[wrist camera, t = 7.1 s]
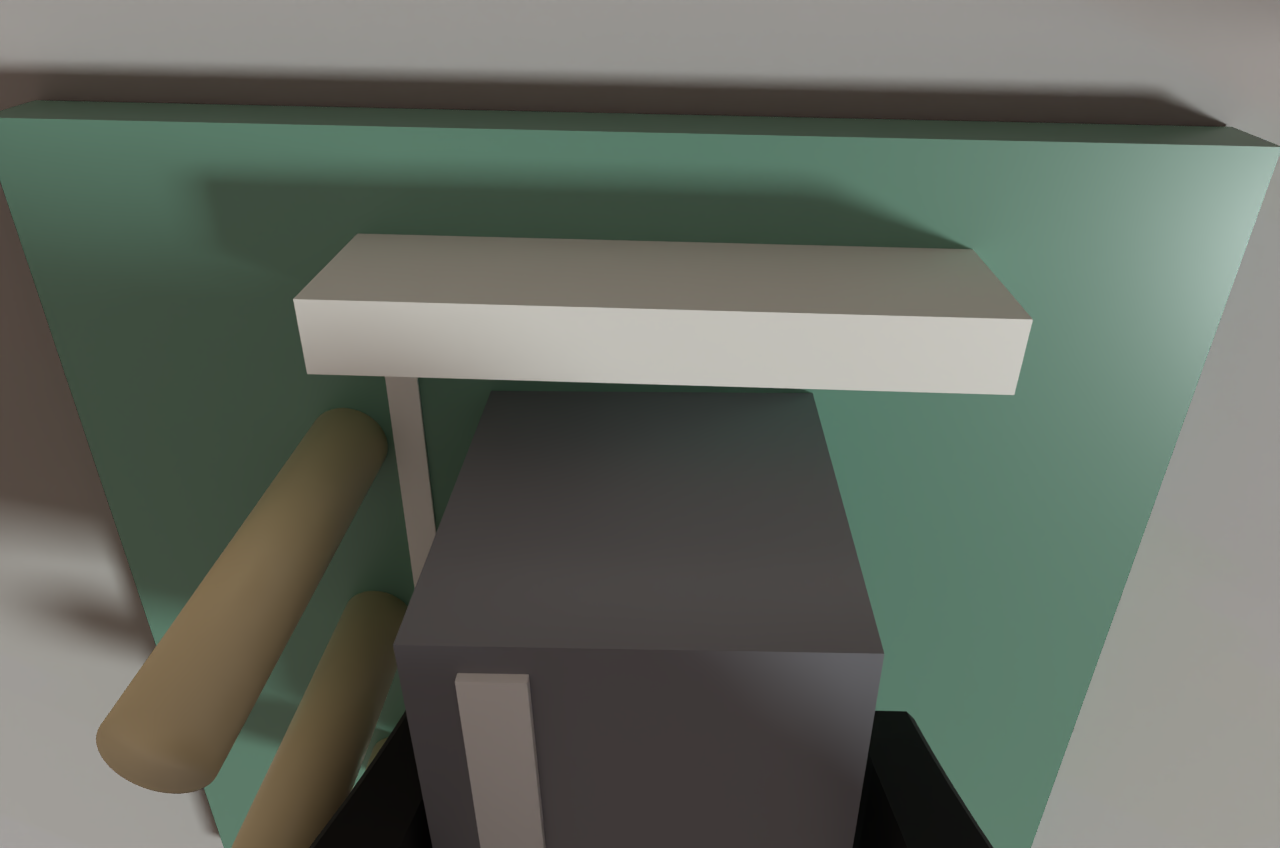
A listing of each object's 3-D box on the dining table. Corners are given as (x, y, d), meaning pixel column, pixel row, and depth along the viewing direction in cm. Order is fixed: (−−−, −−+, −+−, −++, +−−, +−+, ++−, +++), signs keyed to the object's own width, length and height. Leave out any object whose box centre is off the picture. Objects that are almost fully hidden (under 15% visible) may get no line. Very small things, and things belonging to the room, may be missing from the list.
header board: (1232, 127, 10) (1784, 347, 5) (984, 879, 17) (1116, 1296, 12) (35, 99, 11) (-568, 282, 6) (261, 849, 18) (88, 1241, 13)
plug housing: (813, 393, 11) (886, 662, 7) (776, 776, 15) (813, 1101, 11) (491, 390, 11) (389, 653, 7) (531, 770, 15) (476, 1088, 11)
